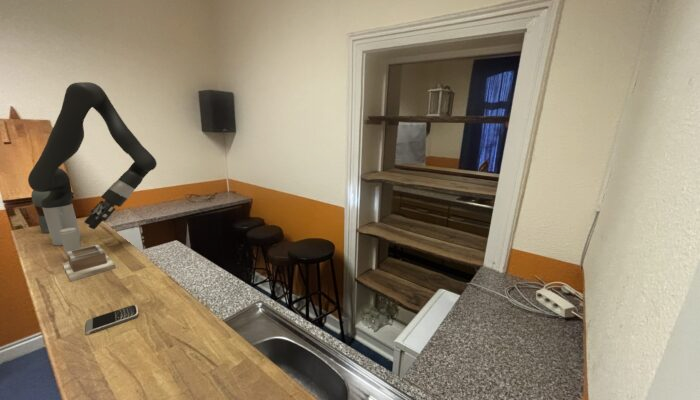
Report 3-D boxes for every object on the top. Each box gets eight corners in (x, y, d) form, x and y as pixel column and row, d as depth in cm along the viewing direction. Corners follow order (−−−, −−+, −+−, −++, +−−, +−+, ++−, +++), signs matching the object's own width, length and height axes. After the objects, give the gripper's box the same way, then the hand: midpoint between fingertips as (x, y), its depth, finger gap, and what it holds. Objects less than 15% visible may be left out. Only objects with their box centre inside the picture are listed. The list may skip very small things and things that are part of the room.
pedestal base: (63, 267, 103) (58, 250, 101) (105, 255, 112) (101, 240, 110) (70, 281, 93) (65, 263, 91) (115, 267, 102) (111, 251, 101)
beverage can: (75, 260, 108) (67, 231, 105) (63, 260, 108) (55, 231, 105) (87, 255, 112) (80, 227, 110) (75, 255, 113) (68, 227, 110)
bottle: (35, 234, 135) (17, 173, 127) (51, 228, 143) (35, 170, 136) (58, 233, 136) (42, 172, 129) (72, 226, 145) (57, 169, 138)
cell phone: (139, 318, 76) (138, 313, 75) (84, 337, 69) (83, 333, 68) (137, 307, 80) (136, 303, 80) (85, 325, 73) (84, 320, 73)
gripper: (105, 185, 119) (75, 217, 113) (113, 190, 111) (81, 225, 105) (122, 195, 125) (95, 226, 119) (132, 200, 116) (103, 234, 110)
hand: (88, 225), depth 112 cm, fingers open, 8 cm apart
